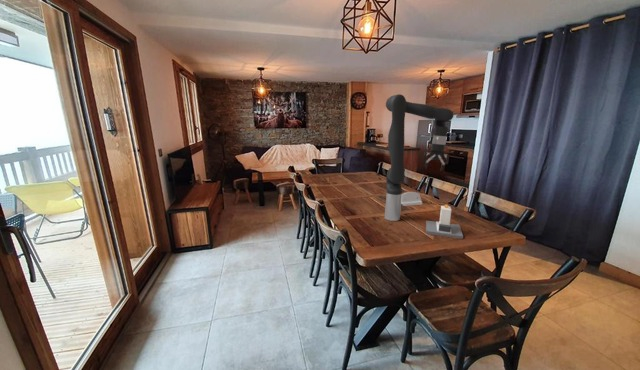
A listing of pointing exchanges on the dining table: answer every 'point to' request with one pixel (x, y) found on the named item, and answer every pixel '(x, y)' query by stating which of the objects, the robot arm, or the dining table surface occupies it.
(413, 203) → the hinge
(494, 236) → the dining table surface
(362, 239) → the dining table surface
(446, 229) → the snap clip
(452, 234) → the mounting plate
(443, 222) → the module
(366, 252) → the dining table surface
